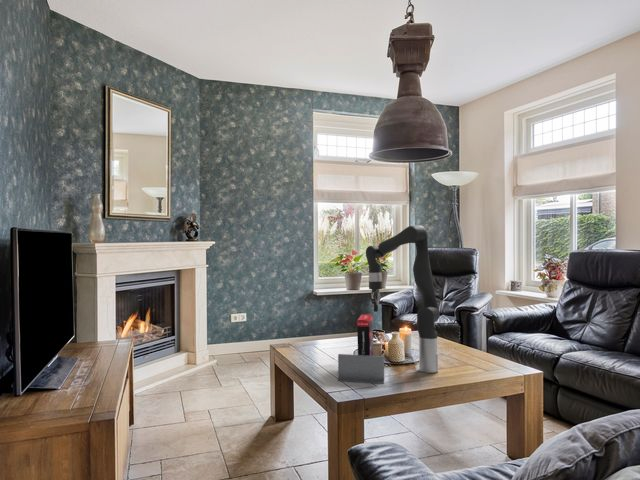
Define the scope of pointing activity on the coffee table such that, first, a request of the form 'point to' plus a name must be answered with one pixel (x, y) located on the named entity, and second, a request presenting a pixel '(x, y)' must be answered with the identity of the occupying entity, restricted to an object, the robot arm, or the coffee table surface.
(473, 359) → the coffee table surface
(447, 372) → the coffee table surface
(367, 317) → the graphics card box
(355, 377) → the bracket
